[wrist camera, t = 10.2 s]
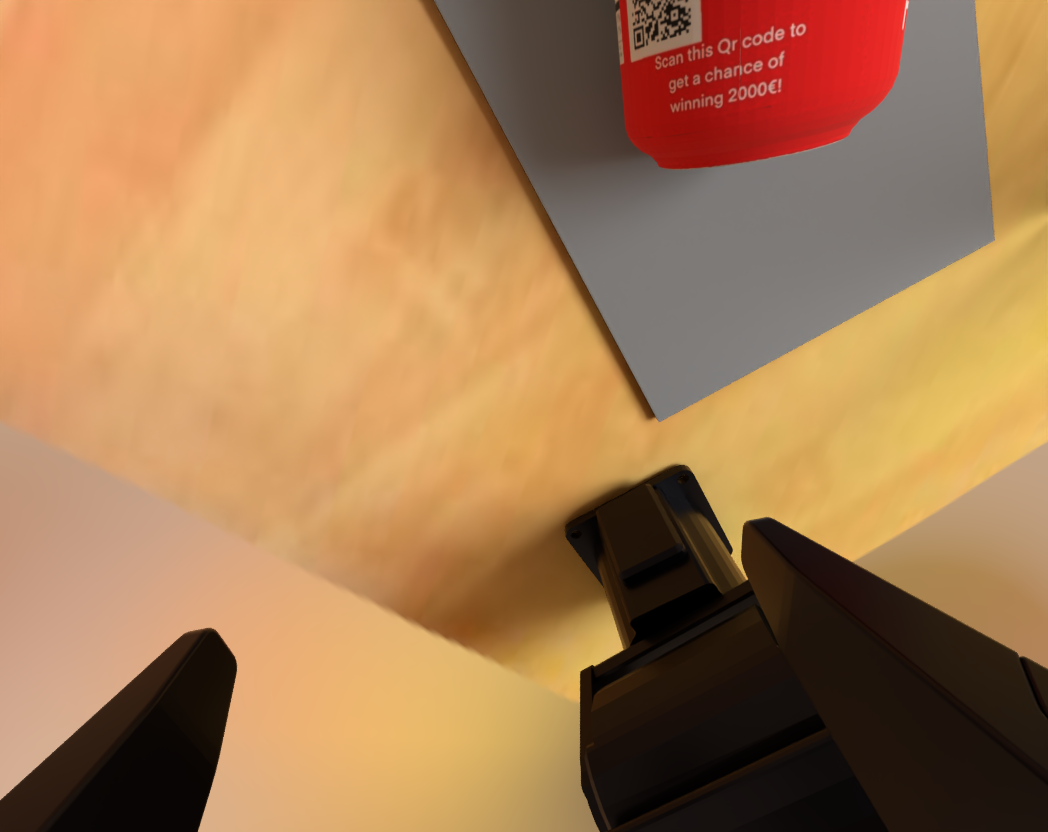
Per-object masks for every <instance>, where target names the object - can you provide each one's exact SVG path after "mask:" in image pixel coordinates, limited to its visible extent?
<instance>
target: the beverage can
mask: <svg viewBox="0 0 1048 832" xmlns="http://www.w3.org/2000/svg"><path fill="white" fill-rule="evenodd" d="M908 4H909V0H615V9H616V21H617V33H618V45H619V57H620V70H621V82H622V94H623V106H624V118H625V129H626V131H627V134H628V137H629V139H630V140H631V142H632V143H633V144H634V145H635V146H636V147H637V148H638V149H639V150H640V151H642V152H644V153H646V154H648V155H650V156H651V157H652V158H653V159H654V160H655V161H656V162H657V164H658V166H659V167H661V168H663V169H669V170H690V169H704V168H714V167H722V166H730V165H737V164H744V163H750V162H756V161H762V160H768V159H773V158H778V157H783V156H788V155H793V154H797V153H801V152H805V151H809V150H813V149H817V148H821V147H824V146H827V145H830V144H833V143H836V142H838V141H841V140H842V139H844V138H846V137H847V136H848V135H849V134H850V132H851V130H852V129H853V128H854V126H855V125H856V124H857V123H858V122H859V121H860V119H862V118H863V117H864V116H866V115H867V114H869V113H870V112H871V111H873V110H874V109H875V108H876V107H877V106H878V105H879V104H880V103H881V102H882V101H883V100H884V98H885V97H886V96H887V94H888V93H889V91H890V90H891V89H892V87H893V85H894V82H895V80H896V77H897V75H898V72H899V65H900V59H901V52H902V45H903V38H904V31H905V25H906V18H907V11H908Z"/></svg>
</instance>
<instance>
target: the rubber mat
mask: <svg viewBox="0 0 1048 832" xmlns="http://www.w3.org/2000/svg"><path fill="white" fill-rule="evenodd" d="M434 2H435V4H436V6H437V8H438V10H439V12H440V13H441V15H442V17H443V19H444V21H445V23H446V25H447V27H448V28H449V30H450V32H451V34H452V36H453V38H454V40H455V42H456V43H457V45H458V47H459V49H460V51H461V53H462V55H463V57H464V59H465V60H466V62H467V64H468V66H469V68H470V70H471V72H472V74H473V75H474V77H475V79H476V81H477V83H478V85H479V87H480V89H481V90H482V92H483V94H484V96H485V98H486V100H487V102H488V104H489V105H490V107H491V109H492V111H493V113H494V115H495V117H496V119H497V120H498V122H499V124H500V126H501V128H502V130H503V132H504V134H505V135H506V137H507V139H508V141H509V143H510V145H511V147H512V149H513V150H514V152H515V154H516V156H517V158H518V160H519V162H520V164H521V165H522V167H523V169H524V171H525V173H526V175H527V177H528V179H529V180H530V182H531V184H532V186H533V188H534V190H535V192H536V194H537V195H538V197H539V199H540V201H541V203H542V205H543V207H544V209H545V210H546V212H547V214H548V216H549V218H550V220H551V222H552V224H553V225H554V227H555V229H556V231H557V233H558V235H559V237H560V239H561V240H562V242H563V244H564V246H565V248H566V250H567V252H568V254H569V255H570V257H571V259H572V261H573V263H574V265H575V267H576V269H577V270H578V272H579V274H580V276H581V278H582V280H583V282H584V284H585V285H586V287H587V289H588V291H589V293H590V295H591V297H592V299H593V300H594V302H595V304H596V306H597V308H598V310H599V312H600V314H601V315H602V317H603V319H604V321H605V323H606V325H607V327H608V329H609V330H610V332H611V334H612V336H613V338H614V340H615V342H616V344H617V345H618V347H619V349H620V351H621V353H622V355H623V357H624V359H625V360H626V362H627V364H628V366H629V368H630V370H631V372H632V374H633V375H634V377H635V379H636V381H637V383H638V385H639V387H640V389H641V390H642V392H643V394H644V396H645V398H646V400H647V402H648V404H649V405H650V407H651V409H652V411H653V413H654V415H655V417H656V418H657V420H658V421H659V422H661V421H662V420H664V419H666V418H668V417H670V416H672V415H674V414H675V413H677V412H679V411H681V410H683V409H685V408H686V407H688V406H690V405H692V404H694V403H696V402H698V401H699V400H701V399H703V398H705V397H707V396H709V395H710V394H712V393H714V392H716V391H718V390H720V389H721V388H723V387H725V386H727V385H729V384H731V383H733V382H734V381H736V380H738V379H740V378H742V377H744V376H745V375H747V374H749V373H751V372H753V371H755V370H757V369H758V368H760V367H762V366H764V365H766V364H768V363H769V362H771V361H773V360H775V359H777V358H779V357H780V356H782V355H784V354H786V353H788V352H790V351H792V350H793V349H795V348H797V347H799V346H801V345H803V344H804V343H806V342H808V341H810V340H812V339H814V338H816V337H817V336H819V335H821V334H823V333H825V332H827V331H828V330H830V329H832V328H834V327H836V326H838V325H839V324H841V323H843V322H845V321H847V320H849V319H851V318H852V317H854V316H856V315H858V314H860V313H862V312H863V311H865V310H867V309H869V308H871V307H873V306H875V305H876V304H878V303H880V302H882V301H884V300H886V299H887V298H889V297H891V296H893V295H895V294H897V293H898V292H900V291H902V290H904V289H906V288H908V287H910V286H911V285H913V284H915V283H917V282H919V281H921V280H922V279H924V278H926V277H928V276H930V275H932V274H934V273H935V272H937V271H939V270H941V269H943V268H945V267H946V266H948V265H950V264H952V263H954V262H956V261H958V260H959V259H961V258H963V257H965V256H967V255H969V254H970V253H972V252H974V251H976V250H978V249H980V248H981V247H983V246H985V245H987V244H989V243H991V242H993V241H994V240H995V238H994V226H993V214H992V202H991V190H990V178H989V166H988V155H987V143H986V131H985V119H984V107H983V95H982V83H981V71H980V59H979V47H978V35H977V23H976V11H975V0H909V4H908V11H907V18H906V25H905V31H904V38H903V45H902V52H901V59H900V65H899V72H898V75H897V77H896V80H895V82H894V85H893V87H892V89H891V90H890V91H889V93H888V94H887V96H886V97H885V98H884V100H883V101H882V102H881V103H880V104H879V105H878V106H877V107H876V108H875V109H874V110H873V111H871V112H870V113H869V114H867V115H866V116H864V117H863V118H862V119H860V121H859V122H858V123H857V124H856V125H855V126H854V128H853V129H852V130H851V132H850V134H849V135H848V136H847V137H846V138H844V139H842V140H841V141H838V142H836V143H833V144H830V145H827V146H824V147H821V148H817V149H813V150H809V151H805V152H801V153H797V154H793V155H788V156H783V157H778V158H773V159H768V160H762V161H756V162H750V163H744V164H737V165H730V166H722V167H714V168H704V169H690V170H669V169H663V168H661V167H659V166H658V164H657V162H656V161H655V160H654V159H653V158H652V157H651V156H650V155H648V154H646V153H644V152H642V151H640V150H639V149H638V148H637V147H636V146H635V145H634V144H633V143H632V142H631V140H630V139H629V137H628V134H627V131H626V129H625V118H624V106H623V94H622V82H621V70H620V57H619V45H618V33H617V21H616V9H615V0H434Z"/></svg>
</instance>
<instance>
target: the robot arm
mask: <svg viewBox="0 0 1048 832" xmlns="http://www.w3.org/2000/svg"><path fill="white" fill-rule="evenodd" d="M681 475H685V476H684V477H682V478H680V479H678V478H679V477H680V476H681ZM576 530H579V531H578V532H576V533H572V532H573V531H576ZM564 531H565V535H566V538H567V540H568V541H569V542H570V544H571V545H572V546H573V548H574V549H575V550H576V552H577V553H578V554H579V556H580V557H581V558H582V559H583V561H584V562H585V563H586V565H587V566H588V567H589V569H590V570H591V571H592V573H593V574H594V575H595V576H596V578H597V579H598V580H599V582H600V583H601V584H602V586H603V587H604V589H605V592H606V595H607V598H608V601H609V604H610V608H611V611H612V614H613V617H614V620H615V624H616V627H617V630H618V633H619V636H620V639H621V643H622V646H623V649H624V650H623V651H621V652H619V653H617V654H616V655H614V656H612V657H610V658H609V659H607V660H605V661H603V662H601V663H600V664H598V665H596V666H593V665H591V666H589V667H588V668H586V669H584V670H582V671H581V672H580V765H581V786H582V790H583V793H584V794H585V797H586V798H587V800H588V804H589V807H590V809H591V812H592V815H593V818H594V820H595V822H596V825H597V827H598V829H599V831H600V832H1048V669H1047V668H1045V667H1043V666H1041V665H1040V664H1038V663H1036V662H1034V661H1032V660H1030V659H1028V658H1027V657H1024V656H1021V657H1019V655H1018V653H1017V652H1015V651H1013V650H1012V649H1010V648H1008V647H1006V646H1005V645H1003V644H1001V643H999V642H997V641H995V640H994V639H992V638H990V637H988V636H986V635H984V634H982V633H981V632H979V631H977V630H975V629H974V628H972V627H970V626H968V625H966V624H964V623H963V622H961V621H959V620H957V619H955V618H953V617H951V616H950V615H948V614H946V613H944V612H943V611H940V610H939V609H937V608H935V607H933V606H931V605H930V604H928V603H926V602H924V601H922V600H921V599H919V598H917V597H915V596H913V595H911V594H910V593H908V592H906V591H904V590H902V589H900V588H899V587H896V586H895V585H893V584H891V583H890V582H888V581H886V580H884V579H882V578H880V577H879V576H877V575H875V574H873V573H871V572H869V571H868V570H866V569H864V568H862V567H860V566H858V565H857V564H855V563H853V562H851V561H849V560H848V559H846V558H844V557H842V556H840V555H838V554H837V553H835V552H833V551H831V550H829V549H827V548H826V547H824V546H822V545H820V544H818V543H817V542H815V541H813V540H811V539H809V538H807V537H806V536H804V535H802V534H800V533H798V532H796V531H795V530H793V529H791V528H789V527H787V526H786V525H784V524H782V523H780V522H778V521H776V520H775V519H772V518H769V517H764V518H759V519H754V520H749V521H747V522H745V523H744V525H743V533H742V550H741V560H742V565H743V568H744V571H745V573H746V575H747V577H748V580H746V579H745V577H744V576H743V574H742V572H741V571H740V569H739V568H738V566H737V565H736V563H735V561H734V560H733V558H732V557H731V554H732V552H733V549H732V547H731V545H730V543H729V541H728V539H727V537H726V535H725V533H724V531H723V529H722V527H721V526H720V524H719V522H718V520H717V518H716V516H715V514H714V512H713V510H712V508H711V506H710V505H709V503H708V501H707V499H706V497H705V495H704V493H703V491H702V489H701V487H700V485H699V483H698V482H697V480H696V478H695V476H694V474H693V472H692V471H691V470H690V468H689V467H688V466H685V465H679V466H676V467H674V468H672V469H670V470H669V471H667V472H665V473H663V474H661V475H659V476H657V477H655V478H653V479H651V480H649V481H647V482H646V483H644V484H642V485H640V486H638V487H636V488H634V489H632V490H630V491H628V492H626V493H625V494H623V495H621V496H619V497H617V498H615V499H613V500H611V501H609V502H607V503H605V504H603V505H602V506H600V507H598V508H596V509H594V510H592V511H590V512H588V513H586V514H584V515H582V516H581V517H579V518H577V519H575V520H573V521H571V522H569V523H568V524H567V525H566V526H565V530H564ZM236 672H237V663H236V659H235V656H234V655H233V654H232V652H231V651H230V649H229V648H228V646H227V645H226V643H225V642H224V641H223V639H222V638H221V636H220V635H219V634H218V632H217V631H216V630H214V629H212V628H205V629H200V630H195V631H190V632H187V633H185V634H183V635H182V636H181V637H180V638H179V639H177V640H176V641H175V642H174V643H173V644H172V645H171V646H170V647H169V648H167V649H166V650H165V651H164V652H163V653H162V654H161V655H160V656H159V657H158V658H156V659H155V660H154V661H153V662H152V663H151V664H150V665H149V666H148V667H147V668H145V669H144V670H143V671H142V672H141V673H140V674H139V675H138V676H137V677H136V678H134V679H133V680H132V681H131V682H130V683H129V684H128V685H127V686H126V687H125V688H124V689H122V690H121V691H120V692H119V693H118V694H117V695H116V696H115V697H114V698H112V699H111V700H110V701H109V702H108V703H107V704H106V705H105V706H104V707H102V708H101V709H100V710H99V711H98V712H97V713H96V714H95V715H94V716H93V717H92V718H91V719H89V720H88V721H87V722H86V723H85V724H84V725H83V726H82V727H80V728H79V729H78V730H77V731H76V732H75V733H74V734H73V735H72V736H71V737H69V738H68V739H67V740H66V741H65V742H64V743H63V744H62V745H61V746H60V747H58V748H57V749H56V750H55V751H54V752H53V753H52V754H51V755H50V756H49V757H47V758H46V759H45V760H44V761H43V762H42V763H41V764H40V765H39V766H38V767H36V768H35V769H34V770H33V771H32V772H31V773H30V774H29V775H28V776H26V777H25V778H24V779H23V780H22V781H21V782H20V783H19V784H18V785H17V786H15V787H14V788H13V789H12V790H11V791H10V792H9V793H8V794H7V795H6V796H4V797H3V798H2V799H1V800H0V832H198V829H199V826H200V823H201V819H202V816H203V813H204V810H205V806H206V803H207V799H208V796H209V793H210V790H211V787H212V783H213V779H214V776H215V772H216V768H217V764H218V760H219V755H220V751H221V746H222V742H223V737H224V732H225V727H226V722H227V717H228V712H229V707H230V702H231V698H232V692H233V688H234V683H235V678H236Z"/></svg>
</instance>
